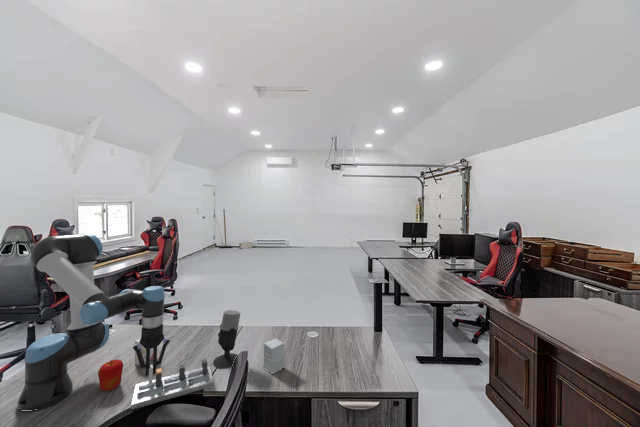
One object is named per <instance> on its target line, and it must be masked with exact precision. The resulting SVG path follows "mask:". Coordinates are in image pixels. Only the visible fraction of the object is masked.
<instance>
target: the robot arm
mask: <svg viewBox="0 0 640 427" xmlns="http://www.w3.org/2000/svg"><path fill="white" fill-rule="evenodd" d="M103 248H104V247H103V244H102V241H101V240H100V238H99V237H98V236H96V235H94V234H92V233H91V234H89V233H79V234H66V235H63V234H62V235H52V236H48V237H45V238H43V239H41V240H39V241H38V242H37V243H36V244H35V245H34V246H33V247H32V250H31V252H30V260H31V263H32V265H33V266H34V267H35V268H36V269H37V271H39V272H41V273H46V274H47V275H48V276H49V277H50V278H51V279H52V280H53V281H54V282H55V283H56V284H57V285H58V286H59V287H60V288H61V289H62V290H63V291H64V292H65V293H66V294H67V295H68V296H69V305H70V306H69V307H70V320H71V322H70V325H69V326H67V328H66V330H67V333H66V332H57V333H54V334H50V335H46V336H44V337H41V338H39V339H37V340H35V341H34V342H32V343H31V344H30V345H29V346H28V347H27V349H26V351H25V356H24V362H25V363H24V364H25V367H24V368H25V369H24V387H23V389H22V391H21V394H20V395H19V398H18V400H17V409H18V408H19V409H20V410H35V409H40V410H42V408H43V409H46V408H48V406H49V407H51V406H53V405H56V404H58V403H59V402H61V401H62V400H64V399H66V398H67V397H68V396H70V394H71V393H72V391H73V388H74V387H73V384H74V383H73V380H72V379H71V377H70V375H69V373H68V364H70V363H72V362H74V361H77V360H79V359H81V358H83V357H85V356H87V355H89V354H92V353H95V352H96V351H98V350H100V349H101V348H103V347H104V346H105V345H106V344H107V342H108V341H109V338H110V333H111V332H110V327H109V326H108V323H107V322H103V321H104V320H107V319H109V318H113V317H114V316H117V315H120V314H121V315H122V314H123V313H126V312H129V311H131V310H140V311H141V312H142V313H141V335H140V338H141V339H140V338H139V339H140V342H138V343H137V344H135V343H134V344H133V347H132V349H133V350H134V352H135V351H136V353H137V357H138V360H139V364H140V365H139V367H140V369H143V368H144V369H145V377H148V381H149V384H152V381H153V380H154V375H156V369H157V366H159V365H161V364H162V361H163V359H164V355H165V352H166V349H167V346H168V345H169V343H170V339H171V338H170V337H165V335H164V319H165V318H164V316H165V315H164V313H165V312H164V311H165V306H164V305H165V298H166V296H165V288H164V287H163V286H161V285H153V286H152V285H151V286H147V287H145V288H144V289H143V290H141V289H136V288H135V289H134V288H127V289H123V290H122V291H121V292H119V293H118V294H115V295H112V296H108V295H106V294H105V293H104V292H103V291H102V290H101V289H100V288H99V287H98V286H97V285H95V276H94V265H95V264H97V262H98V261H97V260H98V258H99V257H100V256H101V255H102V252H103ZM161 343H162V344H163V345H162V347H161V349H160V353H159V356H158V347H159V346H160V345H161ZM141 345H142V346H143V347H144V348H145V349H146V363H145V362H144V359H143V355H142V352H141V348H140V347H141ZM151 348H153V359H152V364H151V361H150V349H151ZM45 407H46V408H45Z"/></svg>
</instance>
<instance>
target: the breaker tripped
mask: <svg viewBox="0 0 640 427" xmlns="http://www.w3.org/2000/svg"><path fill="white" fill-rule="evenodd" d="M162 372H163V368H162V367H161V368H156V374H155V379H156V383H155V384H154V387H157V386H161V385H162V388H163V381H162V378H163V377H162V374H163V373H162Z"/></svg>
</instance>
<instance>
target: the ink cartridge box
mask: <svg viewBox="0 0 640 427" xmlns="http://www.w3.org/2000/svg"><path fill="white" fill-rule="evenodd" d="M140 339H141V337H140V338H138V339H136V340H135V341H134V344H137V343H138V342H140ZM140 348H141V352H142V355H143V359H144V362H145V363H146V349H145V348H144V347H143V346H142V345H141V347H140ZM151 361H153V348H151V349H150V362H151ZM134 365H136V366H140V364H139V360H138V357H137V353H136V351H135V350H134Z"/></svg>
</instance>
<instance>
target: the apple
mask: <svg viewBox="0 0 640 427" xmlns="http://www.w3.org/2000/svg"><path fill="white" fill-rule="evenodd" d="M123 369H124V362H123V361H122V360H121V359H113V360H112V359H111V360H109V361H107V362H105V363H104V364H102V365H101V366H100V368H99V370H98V372H97V377H98V380H99V389H100V391H101V390H102V391H105V392H109V391H110V392H111V391H112V390H115V389H117V388H118V387H119V385H120V384H121V382H122V374H123Z"/></svg>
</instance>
